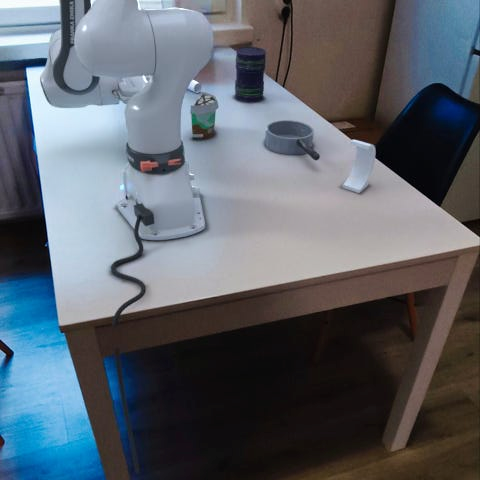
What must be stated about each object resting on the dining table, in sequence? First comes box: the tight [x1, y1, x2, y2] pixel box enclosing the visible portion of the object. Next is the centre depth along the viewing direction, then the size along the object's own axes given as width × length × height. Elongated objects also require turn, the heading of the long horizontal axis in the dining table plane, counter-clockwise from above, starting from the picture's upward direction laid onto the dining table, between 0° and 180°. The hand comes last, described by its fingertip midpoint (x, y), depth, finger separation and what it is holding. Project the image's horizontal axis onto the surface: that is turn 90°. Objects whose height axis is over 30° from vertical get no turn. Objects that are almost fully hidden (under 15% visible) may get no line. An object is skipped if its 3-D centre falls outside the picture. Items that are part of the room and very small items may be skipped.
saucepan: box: [264, 119, 315, 156], centre depth 138 cm, size 13×13×4 cm
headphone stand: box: [341, 139, 376, 194], centre depth 118 cm, size 5×6×12 cm
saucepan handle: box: [297, 138, 321, 161], centre depth 129 cm, size 12×2×2 cm, turn 20°
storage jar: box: [234, 38, 267, 104], centre depth 162 cm, size 10×10×18 cm
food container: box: [189, 91, 219, 141], centre depth 139 cm, size 12×6×10 cm, turn 168°
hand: (162, 82), depth 129 cm, fingers closed
